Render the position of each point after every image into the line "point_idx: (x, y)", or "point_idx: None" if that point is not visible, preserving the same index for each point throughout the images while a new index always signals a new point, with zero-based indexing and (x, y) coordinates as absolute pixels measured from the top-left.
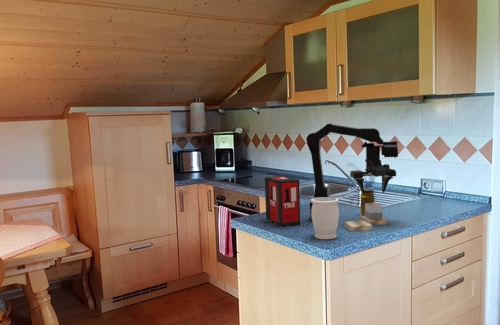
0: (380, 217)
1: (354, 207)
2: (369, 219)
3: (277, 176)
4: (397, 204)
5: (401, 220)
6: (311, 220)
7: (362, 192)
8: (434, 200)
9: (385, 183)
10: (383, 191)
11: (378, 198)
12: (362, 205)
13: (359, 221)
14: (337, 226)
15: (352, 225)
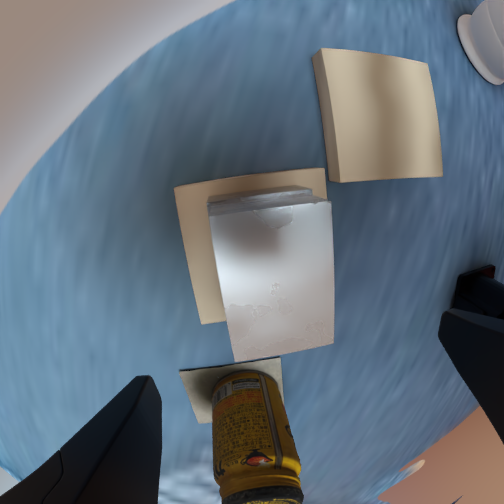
0: (224, 195)
1: None
2: None
3: None
4: None
5: (85, 272)
6: (493, 276)
7: (466, 317)
8: (27, 471)
9: (69, 487)
10: (146, 387)
11: None
12: (287, 421)
13: (373, 159)
14: (480, 9)
15: (419, 83)
